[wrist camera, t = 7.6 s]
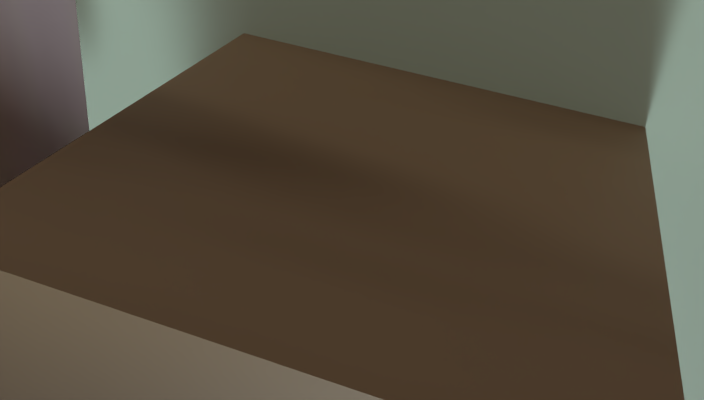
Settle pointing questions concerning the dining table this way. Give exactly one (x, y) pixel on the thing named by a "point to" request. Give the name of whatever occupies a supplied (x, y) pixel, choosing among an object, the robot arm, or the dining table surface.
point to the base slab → (467, 79)
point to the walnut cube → (336, 245)
